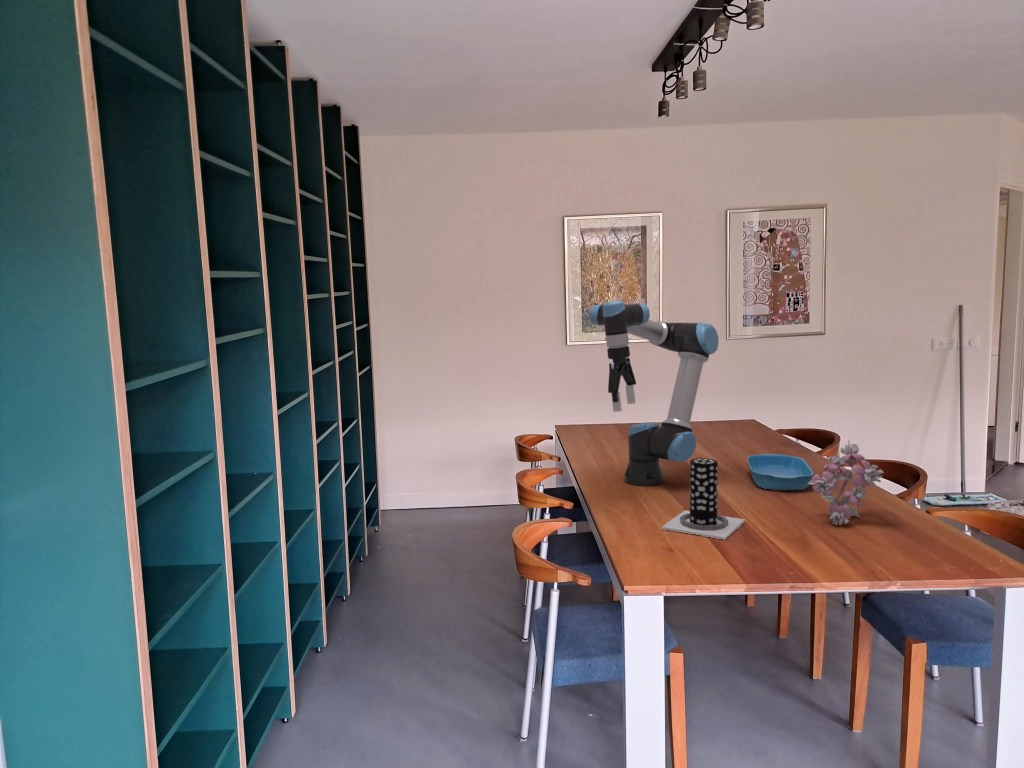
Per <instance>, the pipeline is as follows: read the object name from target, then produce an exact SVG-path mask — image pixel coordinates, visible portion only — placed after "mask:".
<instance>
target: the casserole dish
mask: <svg viewBox="0 0 1024 768" xmlns="http://www.w3.org/2000/svg"><path fill="white" fill-rule="evenodd" d="M746 461H747V465H748V469H749V471H750V474H751V476H752V479H753V481H754V483H755V484H756V485H757V486H758V487H759V488H760V487H761V489H762V488H764V489H763V490H766V489H771V490H770V491H785V490H801V491H803V490H807V488H808V487H809V486H810V485H807V484H808V483H809V482H810V481H811V480H812V478H813V476H814V471H813V469H812V468H811V466H810V465H809V464H808V463H807V461H806V460H805V459H804V458H802V457H799V456H794V455H789V454H787V455H786V454H781V453H780V454H779V453H778V454H777V453H762V454H751V455H748V456H747V457H746Z"/></svg>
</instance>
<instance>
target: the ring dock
mask: <svg viewBox="0 0 1024 768" xmlns="http://www.w3.org/2000/svg"><path fill="white" fill-rule="evenodd" d="M745 520H746V519H744V518H739V517H731V516H724V515H720V514H718V513H717V525H697V524H692V523H690V510H686V509H685V510H683V511H682V512H681V513H679V514H678V515H676V516H675V517H673V518H672V519H670V520H669V521H668V522H666V523H665V524H663V525H662V526H661V530H662V529H665V530H664V531H666V530H670V531H669V532H671V531H677V532H683V533H689V534H696V535H702V536H706V537H711V538H710V539H712V538H716V539H715V540H718V539H723V540H722V541H724V540H725V539H726V538H727V537H728V536H729V537H731V536H732V535H733V534H734V533H735V532H736V531H737V530H738V529H739V528H740V527H742V526H743V525H744V524H745V523H744V522H746V521H745ZM743 523H744V524H743ZM742 524H743V525H742ZM736 529H737V530H736ZM735 530H736V531H735ZM734 531H735V532H734ZM677 532H676V533H677ZM733 532H734V533H733ZM683 533H682V534H683ZM732 533H733V534H732ZM689 534H688V535H689ZM731 534H732V535H731ZM730 535H731V536H730ZM706 537H705V538H706ZM729 537H728V538H729ZM728 538H727V539H728ZM727 539H726V540H727ZM726 540H725V541H726Z"/></svg>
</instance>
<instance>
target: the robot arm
mask: <svg viewBox="0 0 1024 768" xmlns="http://www.w3.org/2000/svg"><path fill="white" fill-rule="evenodd" d="M588 315H589V316H588V317H589V320H590V322H591V323H592V325H595V326H603V327H604V333H605V334H604V335H605V338H604V340H605V342H606V347H607V358H608V359H609V360H612V362H609V363H608V367H609V369H608V371H609V372H608V373H609V374H608V386H607V392H608V394H611V401H612V402H611V403H612V412H622V410H623V408H622V402H621V400H622V399H621V393H620V391H619V390H620V389H619V388H620V385H621V379H622V377H623V380H624V383H625V394H626V401H627V404H628V405H631V404H633V405H634V404H636V396H635V395H636V394H635V388H634V386H636V385H637V380H636V378H635V374H634V372H633V367H632V363H631V358H630V356H631V354H630V353H631V351H630V346H629V343H630V342H629V341H630V340H629V334H630V335H633V336H636V337H638V338H641V339H644V340H647V341H648V342H649V343H650V344H652V345H654V346H656V347H659V348H663V349H665V350H668V351H670V352H675V353H677V355H678V357H679V359H680V362H679V365H678V369H677V370H678V371H677V373H676V379H675V381H674V387H673V392H672V394H671V395H672V396H671V400H670V405H669V408H668V411H667V412H668V413H667V417H666V419H665V420H663V421H661V425H660V424H659V423H658V422H656V421H655V422H642V423H640V422H639V423H635V424H632V425H630V426H629V428H628V464H627V467H626V468H625V469H626V470H625V473H624V482H625V483H627V484H629V485H633V486H634V485H635V486H640V487H641V486H644V487H645V486H649V487H650V486H657V485H660V484H661V485H662V483H664V473H663V470H662V468H661V465H660V460H661V459H662V460H667V461H671V462H679V463H684V462H686V461H687V460H689V459H690V458H691V457H692V455H693V454H694V453H695V451H696V446H697V441H696V435H695V434H694V433H693V427H692V425H691V424H690V423H691V421H692V420H691V418H692V414H693V410H694V406H695V400H696V397H697V393H698V387H699V384H700V379H701V375H702V371H703V367H704V364H705V363H707V362H708V361H709V358H710V355H713V354H715V352H717V351H718V348H719V335H718V332H717V329H716V328H715V327H714V325H712V324H710V323H703V322H665V321H662V320H657V321H655V320H651V319H650V315H651V313H650V309H649V307H648V306H647V305H646V304H645V303H642V302H640V303H639V302H638V303H631V304H630V303H629V304H628V303H626V304H625V302H624V301H623V300H616V301H607V302H604V303H601V304H595V305H593V306H592V307H591V308H590V309H589V314H588Z"/></svg>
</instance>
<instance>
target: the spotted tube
mask: <svg viewBox="0 0 1024 768" xmlns="http://www.w3.org/2000/svg"><path fill="white" fill-rule="evenodd" d="M689 462H690V464H689V466H690V467H689V472H690V473H689V476H690V477H689V511H690V523H692V524H697V525H717V514H718V476H719V475H718V472H719V471H718V468H719V467H718V463H719V462H718V460H716V459H714V458H707V457H706V458H705V457H704V458H701V457H700V458H692V459H690V460H689Z"/></svg>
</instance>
